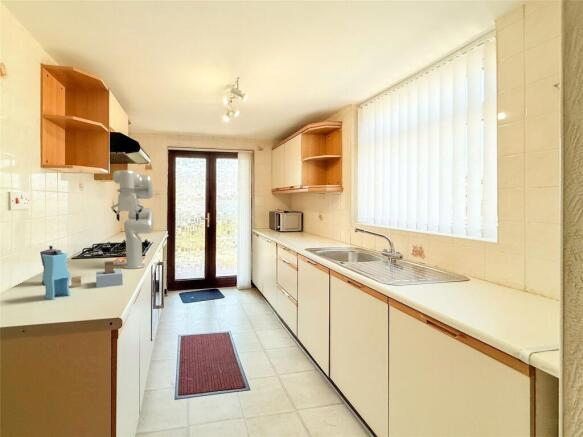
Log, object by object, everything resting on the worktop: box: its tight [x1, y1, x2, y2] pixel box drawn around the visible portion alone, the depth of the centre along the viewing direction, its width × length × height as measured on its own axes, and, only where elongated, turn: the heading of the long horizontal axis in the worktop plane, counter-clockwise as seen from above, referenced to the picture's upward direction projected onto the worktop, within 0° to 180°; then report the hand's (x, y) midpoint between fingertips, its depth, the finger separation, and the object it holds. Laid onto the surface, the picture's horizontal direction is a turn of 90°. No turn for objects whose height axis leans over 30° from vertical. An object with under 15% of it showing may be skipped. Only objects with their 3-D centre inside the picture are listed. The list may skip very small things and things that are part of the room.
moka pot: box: [39, 245, 62, 285], centre depth 181 cm, size 10×15×20 cm, turn 55°
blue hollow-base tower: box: [42, 251, 71, 301], centre depth 158 cm, size 8×8×20 cm
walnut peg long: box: [104, 260, 115, 274], centre depth 182 cm, size 4×4×12 cm
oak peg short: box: [70, 275, 82, 289], centre depth 176 cm, size 4×4×5 cm
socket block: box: [95, 268, 124, 289], centre depth 182 cm, size 12×12×6 cm
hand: (127, 220), depth 200 cm, fingers open, 9 cm apart
